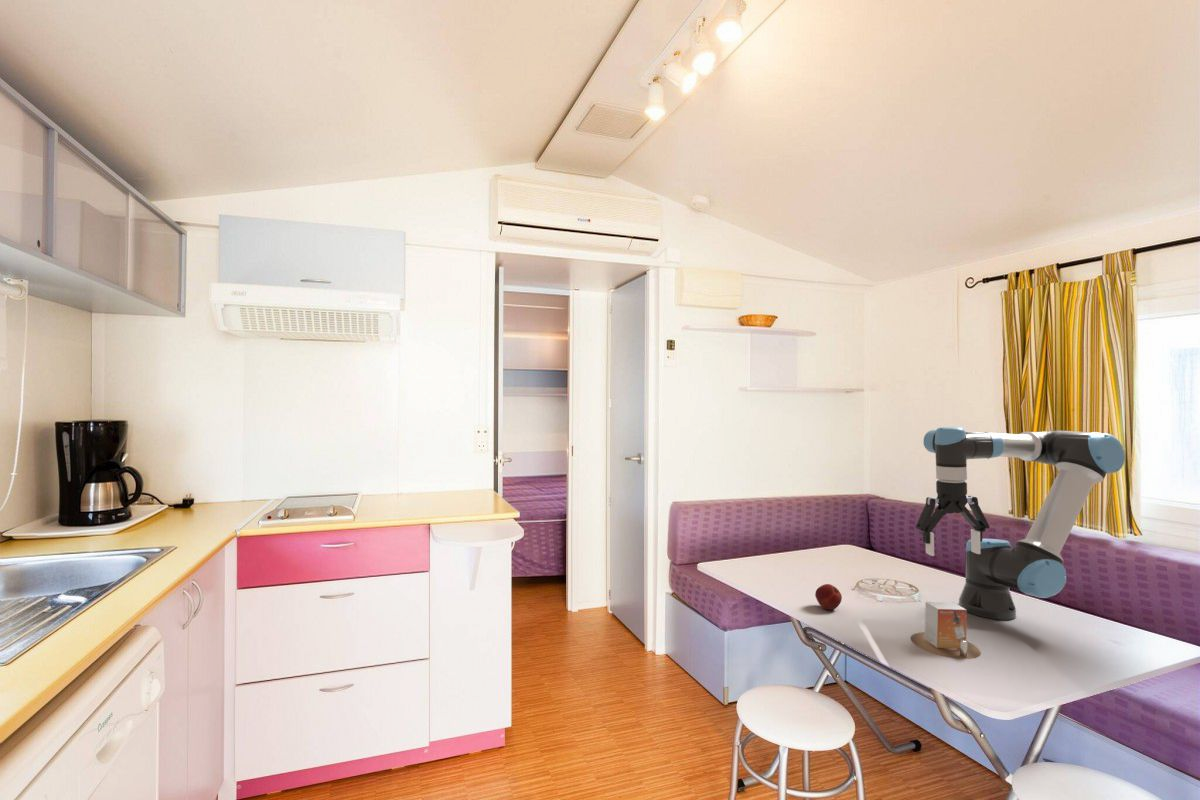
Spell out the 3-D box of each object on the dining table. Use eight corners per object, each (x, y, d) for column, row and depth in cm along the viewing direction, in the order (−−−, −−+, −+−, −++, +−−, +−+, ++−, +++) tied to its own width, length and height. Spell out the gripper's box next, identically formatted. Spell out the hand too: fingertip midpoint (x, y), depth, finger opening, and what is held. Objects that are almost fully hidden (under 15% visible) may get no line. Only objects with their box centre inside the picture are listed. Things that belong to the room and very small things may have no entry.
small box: (936, 648, 145) (937, 608, 145) (924, 639, 150) (924, 601, 150) (966, 649, 145) (967, 609, 145) (953, 640, 150) (953, 601, 150)
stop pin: (965, 655, 142) (965, 639, 142) (968, 658, 140) (968, 642, 140) (958, 654, 142) (958, 639, 142) (961, 657, 140) (961, 641, 140)
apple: (833, 615, 171) (833, 589, 171) (810, 607, 177) (810, 583, 177) (845, 610, 175) (845, 585, 175) (822, 602, 181) (822, 578, 181)
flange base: (966, 641, 153) (966, 635, 153) (992, 668, 138) (992, 662, 138) (903, 634, 157) (903, 629, 157) (921, 660, 142) (921, 653, 142)
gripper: (983, 477, 163) (985, 548, 163) (901, 480, 162) (903, 551, 162) (1003, 481, 155) (1004, 555, 155) (917, 484, 154) (918, 559, 155)
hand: (952, 553), depth 159 cm, fingers open, 13 cm apart
